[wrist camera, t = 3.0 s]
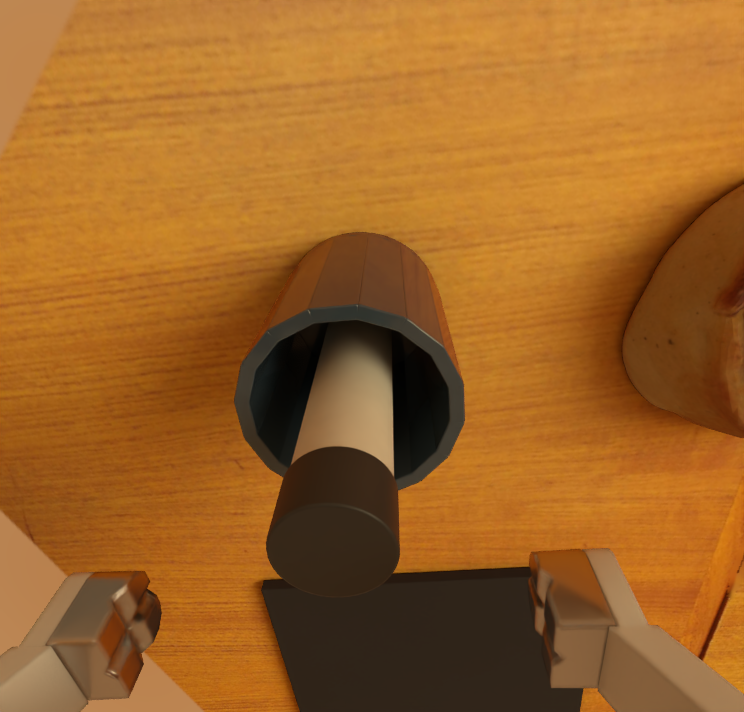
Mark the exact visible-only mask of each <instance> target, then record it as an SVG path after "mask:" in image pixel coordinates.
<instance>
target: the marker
mask: <svg viewBox="0 0 744 712" xmlns="http://www.w3.org/2000/svg"><path fill="white" fill-rule="evenodd" d="M266 550H267V555H268V559H269V561H270V563H271V565H272V567H273V569H274V570H275V571H276V572H277V574H278V575H279V576H280V577H281V578H282V579H284V580H285V581H286V582H288V583H289V584H291V585H292V586H294V587H296V588H298V589H300V590H302V591H305V592H308V593H311V594H315V595H319V596H325V597H350V596H355V595H359V594H363V593H366V592H368V591H371V590H373V589H375V588H377V587H378V586H380V585H381V584H383V583H384V582H385V581H386V580H387V579H388V578H389V577H390V576H391V575H392V574H393V572H394V570H395V568H396V566H397V564H398V561H399V556H400V544H399V507H398V487H397V483H396V480H395V478H394V451H393V393H392V335H391V329H389V328H385V327H382V326H378V325H374V324H371V323H367V322H364V321H360V320H348V321H337V322H329V323H328V327H327V330H326V334H325V338H324V342H323V346H322V349H321V353H320V357H319V361H318V364H317V368H316V372H315V376H314V380H313V383H312V387H311V391H310V395H309V398H308V402H307V406H306V410H305V414H304V417H303V421H302V425H301V429H300V433H299V436H298V440H297V444H296V448H295V451H294V455H293V459H292V463H291V466H290V467H289V468H288V470H287V472H286V473H285V475H284V478H283V481H282V485H281V489H280V492H279V496H278V499H277V503H276V507H275V510H274V514H273V518H272V521H271V525H270V529H269V532H268V536H267V541H266Z"/></svg>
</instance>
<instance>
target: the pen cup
mask: <svg viewBox="0 0 744 712" xmlns="http://www.w3.org/2000/svg"><path fill="white" fill-rule="evenodd" d="M348 320H360V321H364V322H367V323H371V324H374V325H378V326H382V327H385V328H389V329H391V335H392V393H393V451H394V478H395V480H396V483H397V487H398V490H400V489H403V488H406V487H408V486H411V485H413V484H416V483H418V482H420V481H422V480H423V479H424V478H425V477H426V476H427V475H428V474H430V473H431V472H432V471H433V470H434V469H435V468H436V467H437V466H439V465H440V464H441V463H442V462H443V461H444V460H445V459H447V458H448V456H449V455H450V453H451V451H452V449H453V446H454V444H455V442H456V440H457V438H458V436H459V434H460V431H461V429H462V427H463V425H464V421H465V404H464V383H463V379H462V376H461V372H460V368H459V364H458V361H457V357H456V353H455V350H454V346H453V342H452V338H451V335H450V331H449V327H448V323H447V320H446V316H445V312H444V309H443V305H442V301H441V297H440V294H439V290H438V288H437V286H436V284H435V282H434V279H433V277H432V274H431V273H430V271H429V269H428V268H427V266H426V265H425V263H424V262H423V261H422V260H421V258H420V257H419V256H418V255H417V254H416V253H414V252H413V251H412V250H411V249H410V248H408V247H407V246H405V245H404V244H402V243H400V242H398V241H397V240H395V239H392V238H389V237H387V236H384V235H379V234H375V233H366V232H356V233H348V234H342V235H339V236H335V237H332V238H330V239H328V240H326V241H324V242H322V243H320V244H319V245H317V246H316V247H314V248H313V249H312V250H311V251H309V252H308V253H307V254H306V255H305V256H304V257H303V259H302V260H301V261H300V262H299V264H298V265H297V267H296V268H295V270H294V271H293V272H292V274H291V275H290V276H289V278H288V280H287V282H286V283H285V285H284V287H283V289H282V291H281V292H280V294H279V296H278V298H277V300H276V301H275V303H274V305H273V307H272V309H271V310H270V312H269V314H268V316H267V318H266V319H265V321H264V323H263V325H262V327H261V328H260V330H259V332H258V334H257V336H256V337H255V339H254V341H253V343H252V345H251V346H250V348H249V350H248V352H247V354H246V355H245V357H244V359H243V361H242V363H241V366H240V371H239V376H238V381H237V387H236V392H235V397H234V404H235V407H236V411H237V414H238V418H239V422H240V425H241V429H242V432H243V436H244V438H245V440H246V441H247V442H248V444H249V445H250V446H251V447H252V449H253V450H254V451H255V452H256V454H257V455H258V456H259V457H260V458H261V460H262V461H263V462H264V463H265V465H266V466H267V467H268V468H269V469H270V470H272V471H274V472H275V473H277V474H279V475H280V476H282V477H284V475H285V473H286V472H287V470H288V468H289V467H290V466H291V463H292V459H293V455H294V451H295V448H296V444H297V440H298V436H299V433H300V429H301V425H302V421H303V417H304V414H305V410H306V406H307V402H308V398H309V395H310V391H311V387H312V383H313V380H314V376H315V372H316V368H317V364H318V361H319V357H320V353H321V349H322V346H323V342H324V338H325V334H326V330H327V327H328V323H329V322H337V321H348Z"/></svg>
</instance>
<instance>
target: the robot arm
mask: <svg viewBox="0 0 744 712" xmlns="http://www.w3.org/2000/svg"><path fill="white" fill-rule="evenodd" d="M529 566H530V570H531V573H532V576H531V577H530V578H529V579H528V597H529V606H530V611H531V616H532V620H533V624H534V628H535V630H536V631H537V632H538V633H539V634H540V635H541V636H542V646H541V654H542V657H543V661H544V664H545V668H546V672H547V675H548V679H549V682H550V686H551V688H598V692H599V693H600V694H601V695H602V696H603V697H604V698H605V700H606V701H607V702H608V703H609V704H610V705H611V706H612V708H613V709H614V710H615V711H616V712H744V694H743V693H742V692H740V691H739V690H738V689H737V688H735V687H734V686H733V685H732V684H730V683H729V682H728V681H727V680H725V679H724V678H723V677H722V676H720V675H719V674H718V673H717V672H715V671H714V670H713V669H712V668H710V667H709V666H708V665H707V664H705V663H704V662H703V661H702V660H700V659H699V658H698V657H697V656H695V655H694V654H693V653H692V652H690V651H689V650H688V649H687V648H685V647H684V646H683V645H682V644H680V643H679V642H678V641H677V640H675V639H674V638H673V637H672V636H670V635H669V634H668V633H667V632H665V631H664V630H663V629H662V628H660V627H659V626H658V625H649V624H648V622H647V620H646V618H645V616H644V614H643V612H642V610H641V608H640V606H639V604H638V602H637V600H636V598H635V596H634V594H633V592H632V590H631V588H630V586H629V584H628V582H627V580H626V578H625V576H624V574H623V572H622V570H621V568H620V566H619V564H618V562H617V560H616V558H615V556H614V554H613V552H612V551H611V550H610V549H609V548H600V549H582V550H581V549H570V550H553V551H537V552H531V554H530V558H529ZM149 583H150V580H149V578H148V576H147V574H146V573H145V571H111V572H76V573H73V574H71V575H70V576H68V577H67V578H66V579H65V580H64V582H63V583H62V584H61V586H60V587H59V589H58V590H57V592H56V593H55V595H54V596H53V598H52V599H51V601H50V602H49V603H48V605H47V606H46V608H45V609H44V611H43V612H42V614H41V615H40V617H39V618H38V619H37V621H36V622H35V624H34V625H33V627H32V628H31V630H30V631H29V632H28V634H27V635H26V637H25V638H24V640H23V641H22V643H21V644H20V646H19V647H12V648H10V649H9V650H7V651H6V652H5V653H3V654H2V655H1V656H0V712H81V710H82V709H83V708H84V707H85V706H86V705H87V704H88V701H87V700H103V699H122V698H129V696H130V694H131V692H132V690H133V687H134V685H135V683H136V681H137V678H138V676H139V674H140V672H141V669H142V667H143V665H144V663H143V658H142V654H141V653H142V652H144V651H145V650H146V649H147V648H148V647H149V646H150V645H151V644H152V643H153V642H154V640H155V637H156V635H157V632H158V630H159V626H160V620H161V614H162V613H161V605H160V601H159V599H158V597H157V595H156V594H154V593H153V592H151V591H150V590H148V589H147V587H148V585H149Z"/></svg>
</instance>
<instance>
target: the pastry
mask: <svg viewBox="0 0 744 712" xmlns="http://www.w3.org/2000/svg"><path fill="white" fill-rule="evenodd" d="M622 355H623V361H624V364H625V368H626V371H627V374H628V376H629V378H630V380H631V382H632V384H633V385H634V387H635V388H636V389H637V390H638V392H639V393H640V394H641V395H642V396H643V397H644V398H645V399H646V400H647V401H649V402H650V403H651V404H653V405H654V406H656V407H658V408H661V409H664V410H668V411H671V412H674V413H676V414H678V415H679V416H681V417H683V418H685V419H687V420H689V421H690V422H692V423H695V424H698V425H700V426H703V427H706V428H709V429H713V430H716V431H719V432H722V433H725V434H729V435H733V436H736V437H740V438H744V184H743V185H741V186H739V187H738V188H736V189H735V190H733V191H731V192H730V193H728V194H727V195H726V196H724V197H723V198H721V199H720V200H718V201H717V202H716V203H714V204H713V205H711V206H710V207H709V208H708V209H707V210H706V211H704V212H703V213H702V214H701V215H700V216H699V217H698V218H697V219H696V220H695V221H694V222H693V223H692V224H691V225H690V226H689V227H688V228H687V229H686V230H685V231H684V232H683V233H682V235H681V236H680V237H679V238H678V239H677V240H676V242H675V243H674V244H673V245H672V246H671V247H670V248H669V250H668V251H667V252H666V253H665V254H664V256H663V257H662V259H661V261H660V263H659V264H658V266H657V268H656V270H655V272H654V274H653V276H652V278H651V280H650V282H649V284H648V286H647V288H646V289H645V291H644V293H643V295H642V296H641V298H640V300H639V302H638V303H637V305H636V307H635V309H634V311H633V313H632V315H631V318H630V320H629V322H628V324H627V327H626V330H625V333H624V336H623V343H622Z"/></svg>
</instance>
